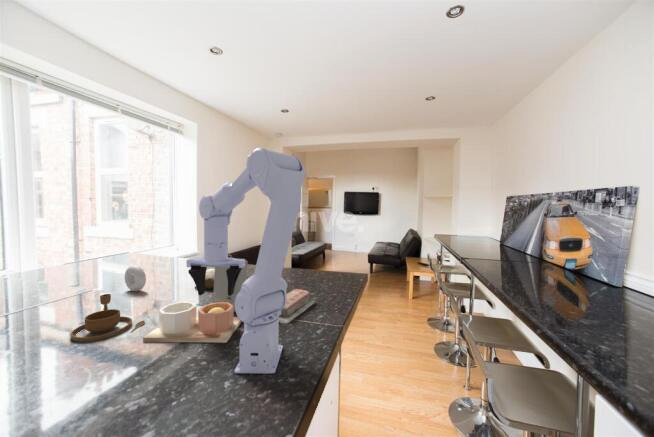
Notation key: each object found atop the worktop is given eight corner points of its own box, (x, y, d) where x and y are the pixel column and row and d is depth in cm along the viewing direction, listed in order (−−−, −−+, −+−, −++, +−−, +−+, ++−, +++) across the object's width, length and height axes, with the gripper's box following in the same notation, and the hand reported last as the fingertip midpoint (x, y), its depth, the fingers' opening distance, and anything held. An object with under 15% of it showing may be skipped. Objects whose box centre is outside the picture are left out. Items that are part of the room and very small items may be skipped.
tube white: (185, 333, 62) (184, 313, 62) (153, 333, 62) (153, 313, 62) (200, 319, 70) (200, 302, 70) (172, 319, 70) (172, 301, 70)
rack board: (226, 342, 60) (226, 338, 60) (143, 341, 60) (143, 337, 60) (242, 320, 72) (242, 316, 72) (173, 319, 72) (173, 315, 72)
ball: (221, 331, 64) (221, 312, 64) (202, 330, 64) (202, 311, 64) (229, 322, 69) (229, 304, 69) (211, 322, 69) (211, 304, 69)
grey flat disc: (122, 290, 97) (122, 264, 96) (132, 288, 100) (132, 263, 99) (138, 294, 93) (138, 267, 92) (148, 291, 96) (147, 265, 95)
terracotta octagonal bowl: (225, 334, 62) (225, 314, 62) (193, 333, 62) (193, 314, 62) (236, 320, 70) (236, 302, 70) (208, 319, 70) (208, 302, 70)
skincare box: (211, 309, 80) (211, 260, 80) (230, 301, 87) (230, 256, 86) (230, 314, 76) (230, 263, 76) (248, 306, 83) (248, 259, 82)
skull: (196, 281, 107) (213, 262, 108) (215, 296, 109) (232, 277, 110) (188, 289, 95) (208, 268, 97) (209, 305, 97) (229, 285, 99)
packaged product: (291, 286, 91) (315, 290, 87) (290, 299, 91) (315, 304, 87) (258, 303, 74) (287, 309, 70) (258, 319, 75) (287, 326, 71)
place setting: (41, 348, 58) (40, 323, 58) (101, 312, 78) (101, 294, 78) (126, 341, 61) (125, 318, 61) (163, 309, 81) (163, 291, 81)
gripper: (248, 241, 70) (248, 289, 70) (196, 240, 70) (196, 289, 70) (239, 244, 63) (239, 298, 63) (181, 244, 62) (182, 297, 63)
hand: (216, 294), depth 66 cm, fingers open, 7 cm apart
